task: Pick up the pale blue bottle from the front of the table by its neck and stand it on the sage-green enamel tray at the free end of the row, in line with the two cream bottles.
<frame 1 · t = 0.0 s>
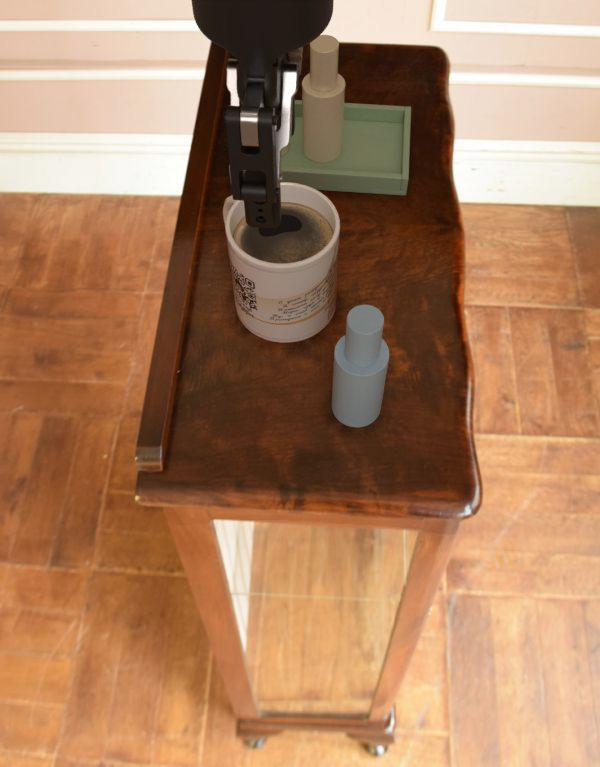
hand: (271, 176, 52), 23 cm above the table, tool pointing down, fingers open, 8 cm apart
tray: (322, 153, 86), on the table
cream bottle 1: (322, 149, 86), point 1 cm above the table, touching tray
blue bottle: (356, 405, 69), on the table
mug: (281, 294, 76), on the table
cream bottle 2: (270, 145, 86), point 1 cm above the table, touching tray
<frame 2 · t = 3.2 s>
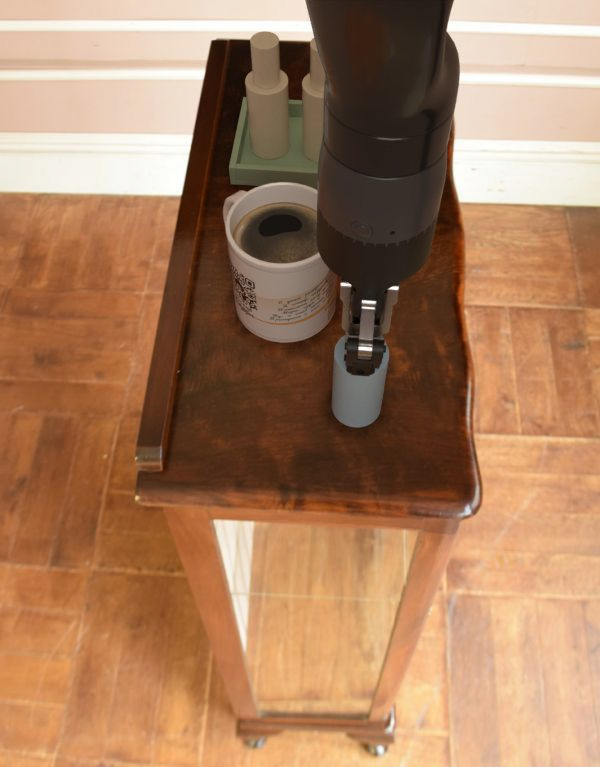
hand: (361, 351, 62), 9 cm above the table, tool pointing down, fingers closed on blue bottle, 3 cm apart
blue bottle: (356, 406, 69), on the table, touching gripper
everything else where it was.
when the fingers open (9 cm above the table, at t = 9.8 s): blue bottle stays where it is, resting on tray.
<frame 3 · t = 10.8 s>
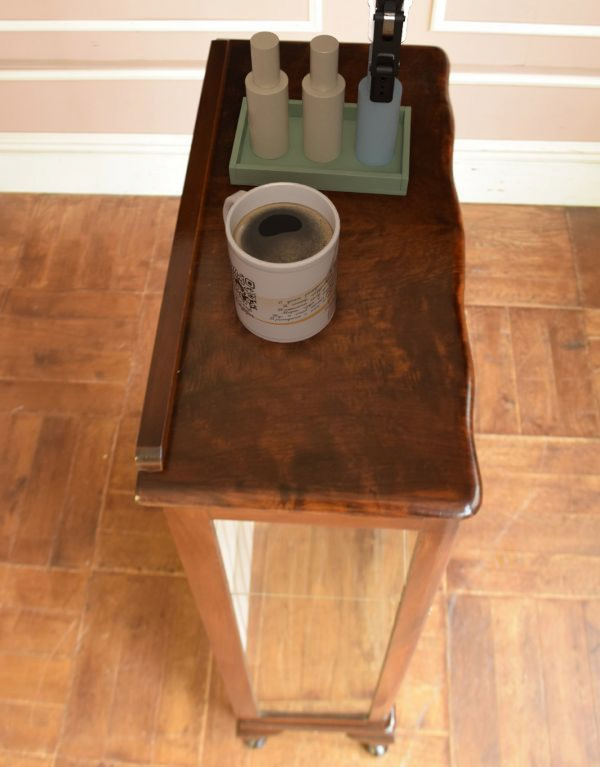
hand: (382, 72, 77), 11 cm above the table, tool pointing down, fingers open, 8 cm apart
blue bottle: (374, 152, 85), point 1 cm above the table, touching tray
everything else where it was.
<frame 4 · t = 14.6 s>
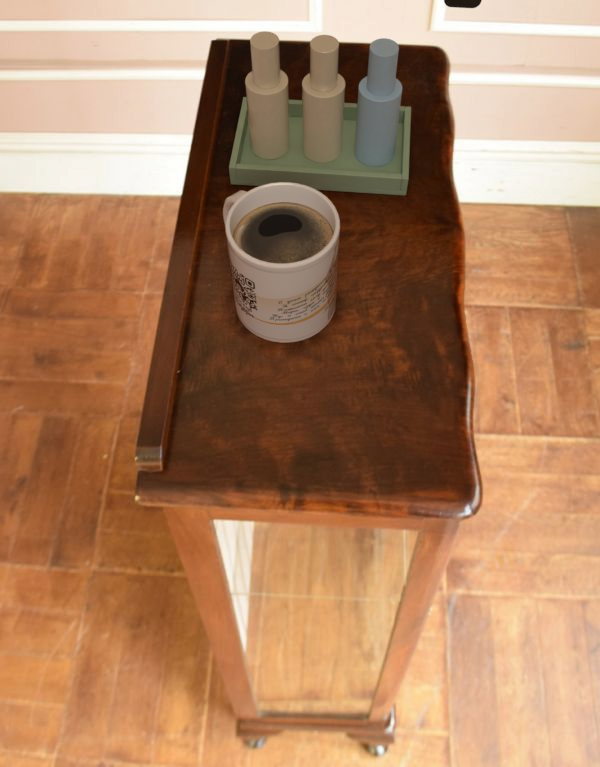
nothing on the table moved.
at the end: blue bottle 0.1 cm from the target spot in the tray, point 0.6 cm above the tray's base; blue bottle tilted 0°; cream bottle 1 moved 0.0 cm from its start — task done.
